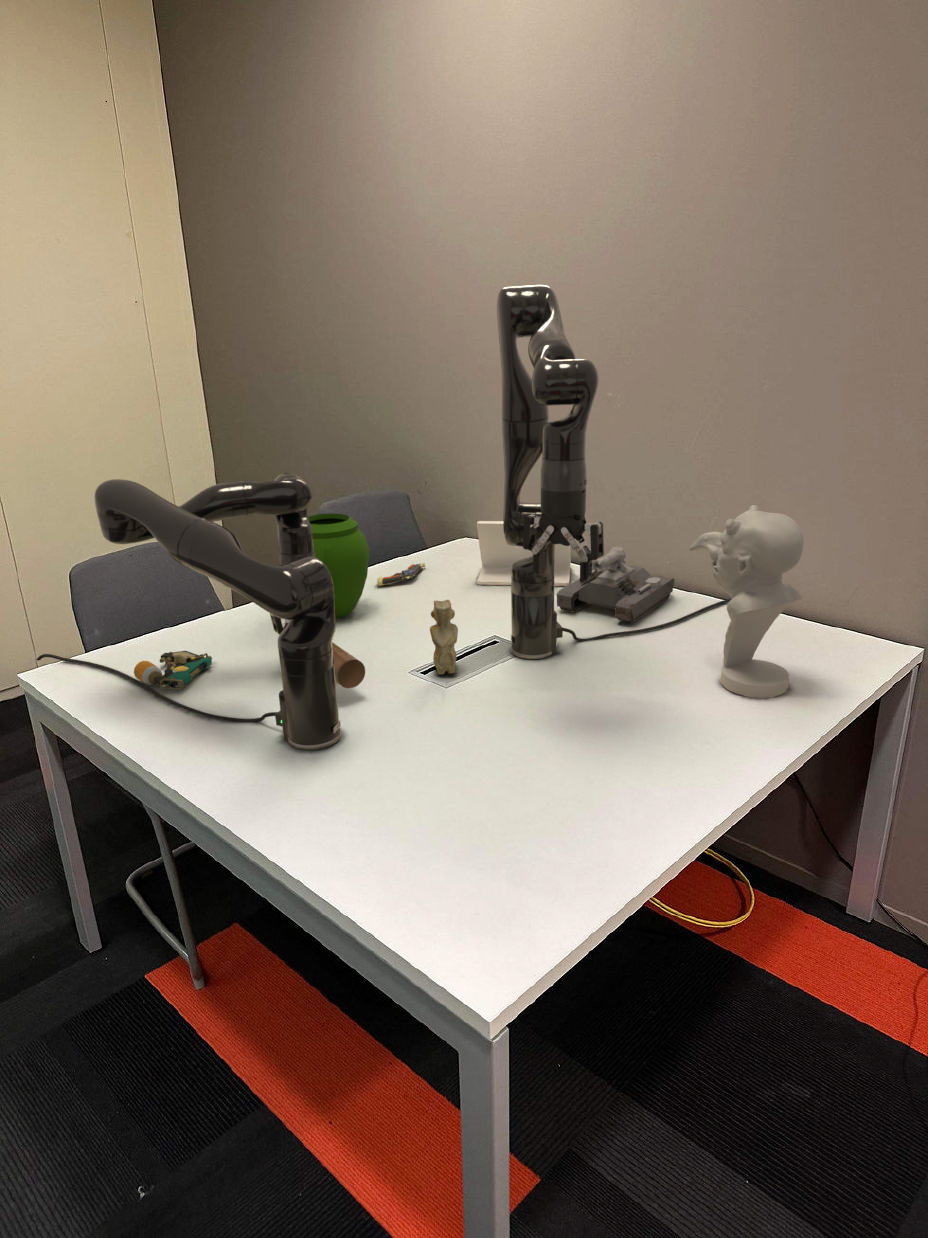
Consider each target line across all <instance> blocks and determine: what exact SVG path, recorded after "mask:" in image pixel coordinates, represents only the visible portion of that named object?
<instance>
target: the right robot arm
mask: <svg viewBox="0 0 928 1238" xmlns="http://www.w3.org/2000/svg"><path fill="white" fill-rule="evenodd" d="M560 309H561V308H560V305H559V301H558V297H557V295H556V293H555V292H554V290H553V288H552V287H550V286H548V285H545V284H532V285H531V284H530V285H515V286H505V287H501V289H500V290H499V291H498V295H497V300H496V318H497V332H498V333H497V334H498V344H499V356H500V368H501V434H502V449H503V450H502V451H503V466H504V467H503V468H504V469H503V470H504V485H503V487H504V488H503V490H504V491H503V518H502V519H503V520H502V521H503V530H504V537H505V541H506V543H507V544H508V545H510V546H519V547H523V548H524V549H525V550H527V549H528V550H530V551H531V552H532V553H533V555H532V556H530V557H527V558H524V559H521V560H518V561H516V562H515V563H513V565H512V567H511V585H510V588H511V589H510V597H511V599H510V603H511V604H510V606H511V607H510V609H511V610H510V615H511V617H510V618H511V621H510V622H511V635H510V641H511V643H510V644H511V647H510V651H511V653H512V655H513V656H515V657H518V658H521V659H525V660H526V659H527V660H540V659H545V658H548V657H550V656H552V655H557V654H558V653H557V650H558V649H557V648H558V647H557V645H558V644H557V643H558V639H561V638H564V637H563V632H565V633H569V634H570V635H571V636H572V639H573V640H574V641H576V642H579V643H581V642H589V641H597V640H601V639H605V638H610V637H617V636H625V635H633V634H639V633H646V632H651V631H654V630H658V629H663V628H665V627H668V626H671V625H675V624H677V623H681V622H682V621H685V620H687V619H689V618H692V617H694V616H697V615H698V614H701V613H703V612H705V611H708V610H710V609H713V608H716V607H718V606H720V605H723V604H728V603H729V601H730V600H731V599H732V598H726V599H724V600H720V601H718V602H715V603H712V604H710V605H707V606H705V607H702V608H700V609H698V610H696V611H694V612H691V613H688V614H687V615H684V616H682V617H680V618H679V617H678V618H677V619H674V620H672V621H669V622H666V623H662V624H658V625H655V626H650V627H645V628H640V629H633V630H627V631H625V630H624V631H617V632H616V631H615V632H609V633H604V634H600V635H597V636H593V637H589V638H582V637H577V634H576V632H574V630H572V629H570V628H566V627H563V626H562V624H560V623H559V621H558V613H557V612H556V611H555V586H554V555H555V544H561V545H564V546H569V545H570V548H572V550H573V551H574V552H576V553H577V555H578V557H579V559H580V560H581V561H580V562H579V579H580V582H582V583H585V582H587V581H588V580H589V579H590V578H591V576H592V567H593V564H592V561H593V560H598V559H600V558H602V557H603V556H605V544H604V523H603V522H602V521H597V522H587V520H586V509H587V484H588V479H587V464H586V445H587V444H586V443H587V441H586V438H587V429H588V423H589V419H590V414H591V411H592V408H593V404H594V401H595V398H596V395H597V392H598V388H599V381H600V380H599V378H600V377H599V373H598V369H597V367H596V365H595V364H594V362H593V361H591V360H590V359H586V358H576V354H575V352H574V349H573V348H572V346H571V344H570V342H569V340H568V338H567V336H566V334H565V328H564V324H563V318H562V313H561V310H560ZM527 338H528V339H529V342H528V344H527V345H528V346H527V348H528V349H527V354H528V357H529V361H530V363H531V365H532V367H533V372H532V377H531V376H530V374H529V371H528V370H527V369H526V367H525V365H524V363H523V361H522V359H521V358H522V357H521V356H520V352H519V348H518V343H517V339H527ZM554 406H555V407H556V406H572V407H571V410H570V411H569V413H568V414H566V416H563V417H561V418H557V419H553V420H550V417H549V414H550V410H549V407H554ZM540 457H542V458H541V467H540V502H528V501H527V502H522V501H521V493H522V489H523V486H524V484H525V482H526V481H527V479H528V476H529V475H530V473H531V471H532V470H533V468H534V466H535V465H536V463H537V462H538V461H539V459H540ZM585 532H587V535H588V536H589V537H590V546H589V541H588V540H587V537H586V536H585V535H584V533H585Z"/></svg>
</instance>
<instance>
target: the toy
mask: <svg viewBox="0 0 928 1238" xmlns="http://www.w3.org/2000/svg"><path fill="white" fill-rule="evenodd" d="M626 557H627V556H626V551H625V549H624V548H622V547H621V546H614V547H612V548H611V549H610V550H609V552H608V553H607V554H604V555H603V556H602V557H600V558H598V559H597V560H593V561H592V576H591V578H590V579H589V580H588V581H587V582H585V583H582V582H580V578H578V579H577V580H575V581H573V582H570V583H569V585H567V586H563V587H562V588H560V589H559V590H558V591H557V592H556V607H558V608H559V609H560V610H562V611H566V612H572V613H575V612H577V611H579V610H581V609H582V608H585V607H586V606H588V605H592V606H598V607H602V608H603V607H604V608H609V609H613V610H614V618H615V619H617V620H618V621H621V622H626V623H631V624H634V623H635V622H637V621H638V620H640V619H641V618H642V617H644V616H645V615H647V614H648V613H650V612H651V611H652V610H654V609H655V608H657V607H659V606H660V605H661V604H663V603H664V602H666V601H667V600H669V598H670V596H671V594H672V593H673V591H674V585H675V580H676V579H675V578H673V577H668V576H663V575H656V576H655V577H654V576H651V574H650V573H649V572H648V571H647V570H646V568H644V567H641V566H635V565H629V564H628V563H627V562H626V561H625V559H626Z"/></svg>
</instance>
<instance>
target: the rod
mask: <svg viewBox="0 0 928 1238" xmlns="http://www.w3.org/2000/svg"><path fill="white" fill-rule="evenodd" d="M332 648H333V659H334V670H335V681H336V683H337V684H338V685H340V686H341V687H342V688H344V689H354V688H356V687H358V686H359V685H360V684H361V683H362V682H363V681H364V679H365V676H366V667H365V664H364V663H363V662H362V661H361V660H359V659H358V658H356V657H355V656H353V655H352V654H350V653H349V652H347V651H346V650H345V649H343V648H342V647H340V646H339V645H338V644H336V643H335V642H333V641H332Z"/></svg>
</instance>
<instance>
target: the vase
mask: <svg viewBox="0 0 928 1238" xmlns="http://www.w3.org/2000/svg"><path fill="white" fill-rule="evenodd" d="M308 520H309V522H310V525H311V527H312V532H313V542H314V552H315V556H316V558H318V559H319V560H321V561H322V562H323V563H324V564H325V565H326V567H327V568H328V570H329V572H330V575H331V578H332V581H333V587H334V599H335V620H336V619H341V618H345V617H347V616H349V615H350V614H351V613H352V612H353V611H354V610H355V608H356V607H357V605H358V604H359V601H360V599H361V597H362V595H363V592H364V588H365V586H366V581H367V578H368V570H369V561H370V560H369V559H370V548H369V545H368V541H367V537H366V535H365V534H364V533H363V532H362V531H361V530H360V529H359V527H358V524H359V523H358V521H356V520H355V519H353V518H352V517H350V516H349V515H347V514H344V513H335V512H334V513H333V512H331V513H320V514H313V515H310V516H309V515H308Z"/></svg>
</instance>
